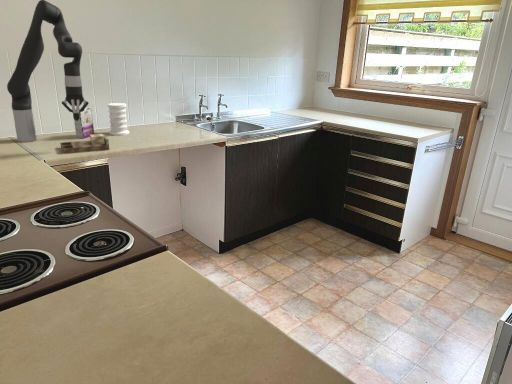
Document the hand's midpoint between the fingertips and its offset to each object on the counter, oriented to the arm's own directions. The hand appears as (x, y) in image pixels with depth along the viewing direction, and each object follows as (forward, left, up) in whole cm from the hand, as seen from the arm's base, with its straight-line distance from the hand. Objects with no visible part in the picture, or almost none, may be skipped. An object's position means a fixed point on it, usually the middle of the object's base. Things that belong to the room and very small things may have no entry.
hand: (76, 120), depth 198 cm
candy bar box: (+6, +30, -15) cm, 34 cm away
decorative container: (+26, +32, -15) cm, 44 cm away
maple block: (+9, +1, -13) cm, 15 cm away
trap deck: (+2, +1, -15) cm, 15 cm away
